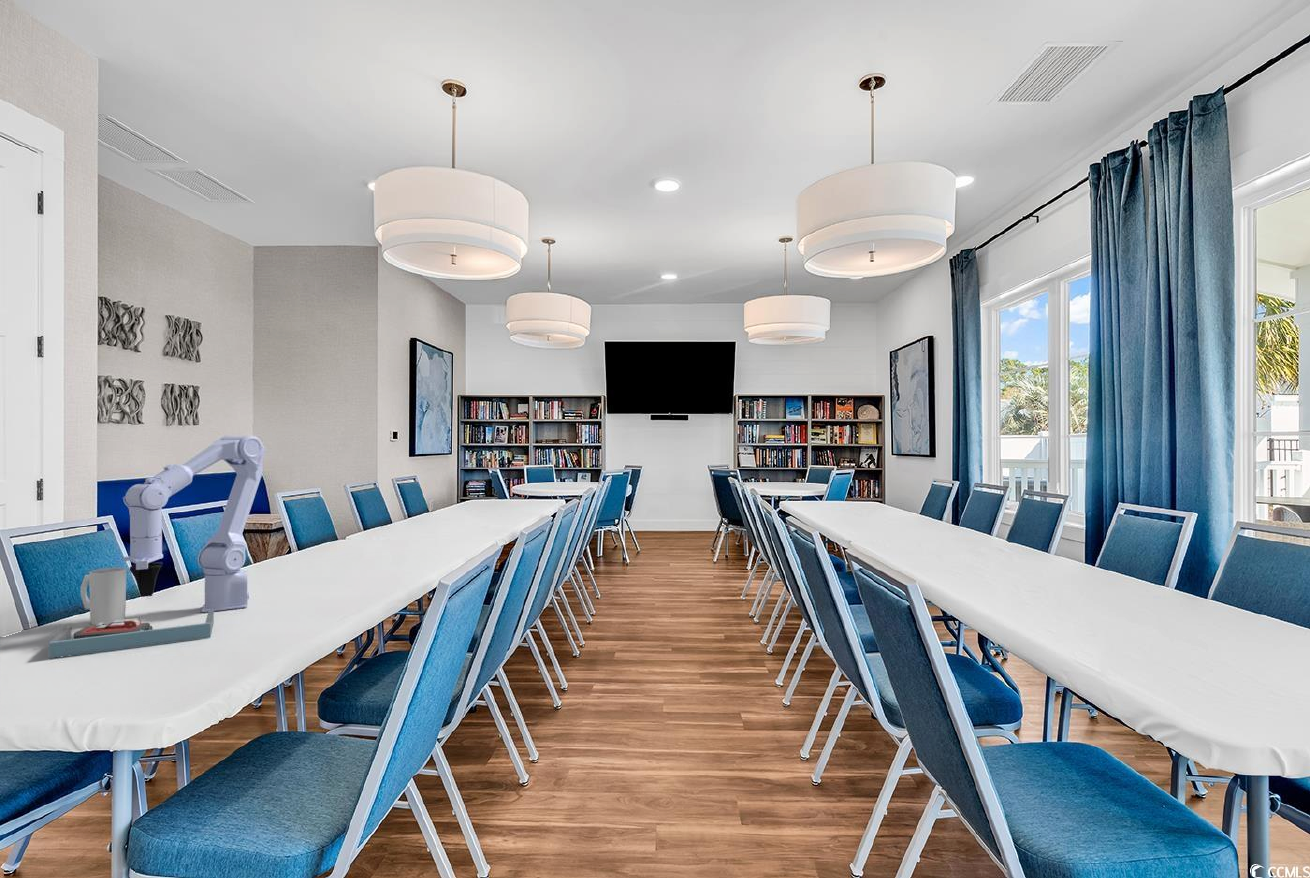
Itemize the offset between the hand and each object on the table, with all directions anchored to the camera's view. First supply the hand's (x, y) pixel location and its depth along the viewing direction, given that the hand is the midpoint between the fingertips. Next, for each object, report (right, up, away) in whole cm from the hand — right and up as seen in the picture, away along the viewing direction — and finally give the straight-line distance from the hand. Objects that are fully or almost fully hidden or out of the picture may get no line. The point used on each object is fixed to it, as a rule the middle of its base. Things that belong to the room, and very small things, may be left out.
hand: (146, 595), depth 149 cm
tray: (+6, -7, -10) cm, 13 cm away
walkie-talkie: (+4, -8, -10) cm, 13 cm away
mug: (-14, -7, +4) cm, 16 cm away
